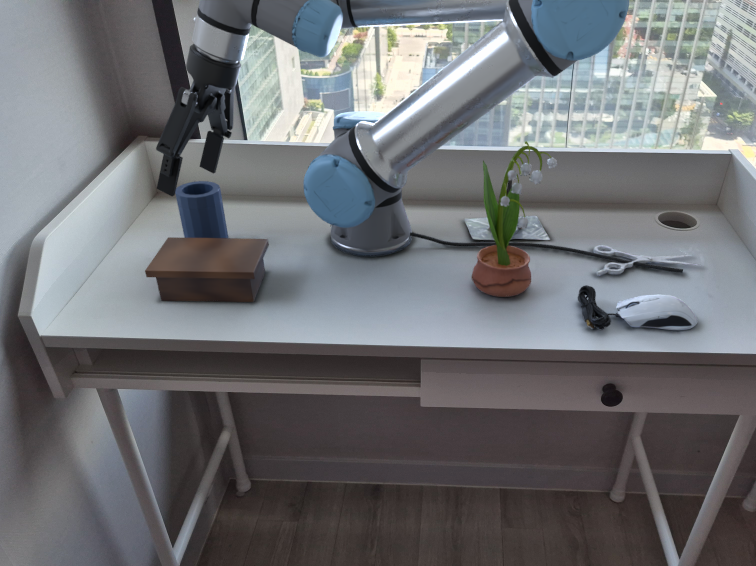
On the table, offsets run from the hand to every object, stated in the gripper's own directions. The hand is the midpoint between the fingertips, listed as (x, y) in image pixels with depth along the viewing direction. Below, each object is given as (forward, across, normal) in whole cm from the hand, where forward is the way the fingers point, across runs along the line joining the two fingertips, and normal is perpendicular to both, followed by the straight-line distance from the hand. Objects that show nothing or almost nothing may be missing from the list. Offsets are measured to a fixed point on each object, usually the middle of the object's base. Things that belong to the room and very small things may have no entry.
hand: (187, 180), depth 114 cm
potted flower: (-6, -5, +55) cm, 56 cm away
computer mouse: (-14, -1, +75) cm, 77 cm away
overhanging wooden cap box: (+12, +6, +11) cm, 18 cm away
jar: (+14, -7, +3) cm, 16 cm away
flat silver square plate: (-7, -28, +52) cm, 59 cm away
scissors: (-16, -21, +76) cm, 81 cm away
